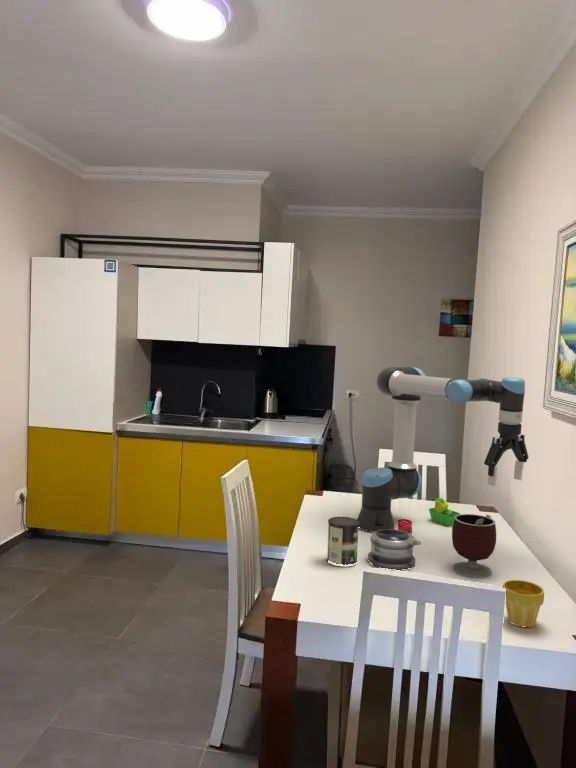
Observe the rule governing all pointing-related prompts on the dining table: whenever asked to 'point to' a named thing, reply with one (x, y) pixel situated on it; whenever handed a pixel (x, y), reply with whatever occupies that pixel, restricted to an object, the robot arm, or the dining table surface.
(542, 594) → the plant pot
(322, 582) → the dining table surface
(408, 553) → the cylinder
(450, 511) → the fruit basket
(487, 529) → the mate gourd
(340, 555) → the coffee can
